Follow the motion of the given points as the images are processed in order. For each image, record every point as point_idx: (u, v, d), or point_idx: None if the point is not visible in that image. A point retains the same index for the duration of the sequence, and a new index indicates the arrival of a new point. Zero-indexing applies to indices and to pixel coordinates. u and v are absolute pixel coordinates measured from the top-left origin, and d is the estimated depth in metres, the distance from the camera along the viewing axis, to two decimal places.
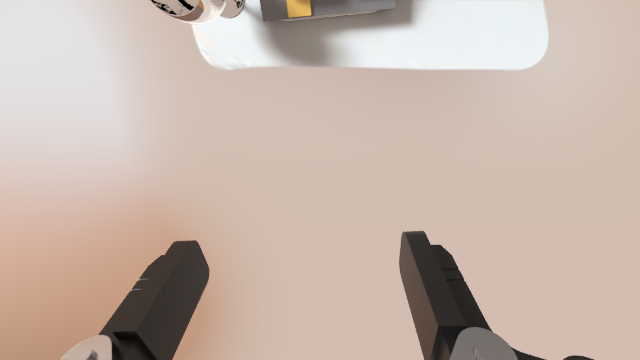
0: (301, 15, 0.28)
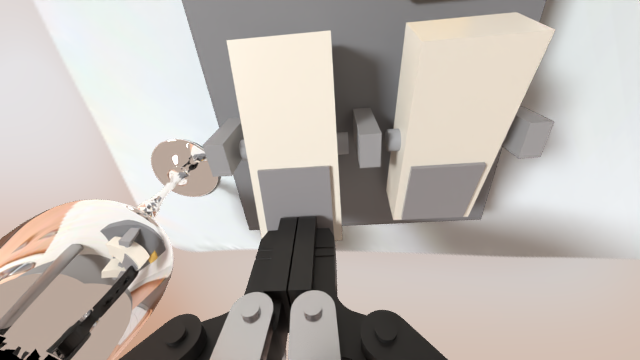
0: None
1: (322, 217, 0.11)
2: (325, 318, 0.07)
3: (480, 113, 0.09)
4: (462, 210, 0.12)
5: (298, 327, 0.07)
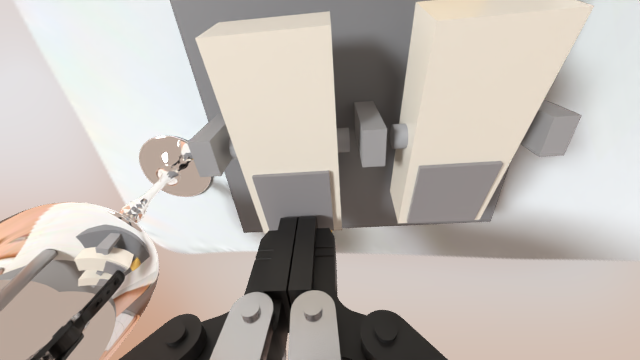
0: None
1: (322, 214, 0.11)
2: (325, 318, 0.07)
3: (499, 106, 0.08)
4: (474, 213, 0.11)
5: (298, 327, 0.07)
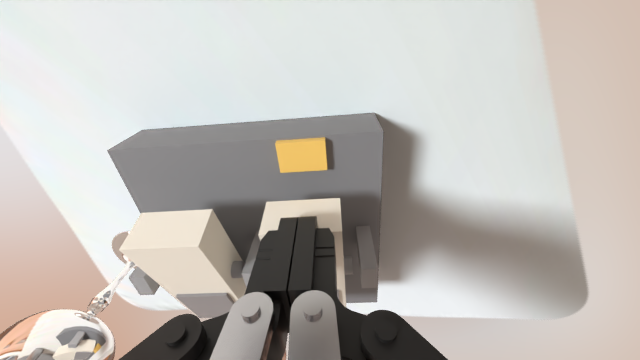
0: None
1: None
2: (325, 318, 0.07)
3: None
4: None
5: (298, 327, 0.07)
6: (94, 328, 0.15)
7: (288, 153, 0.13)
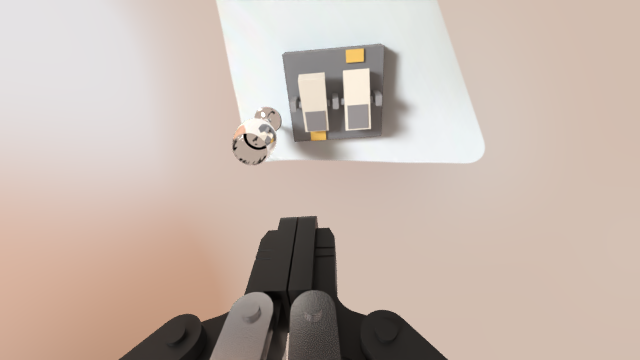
0: (319, 139, 0.43)
1: (322, 124, 0.39)
2: (325, 318, 0.07)
3: (361, 88, 0.37)
4: (367, 124, 0.37)
5: (298, 327, 0.07)
6: None
7: (350, 54, 0.37)
